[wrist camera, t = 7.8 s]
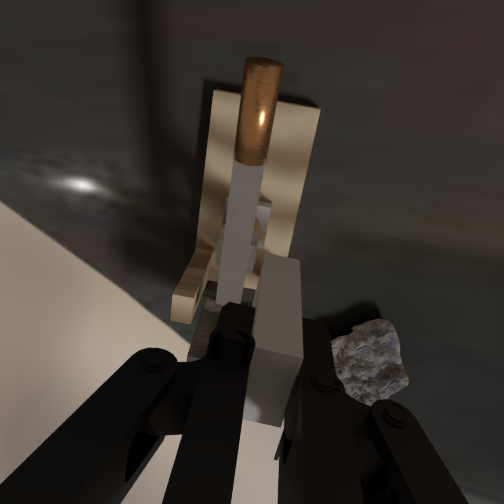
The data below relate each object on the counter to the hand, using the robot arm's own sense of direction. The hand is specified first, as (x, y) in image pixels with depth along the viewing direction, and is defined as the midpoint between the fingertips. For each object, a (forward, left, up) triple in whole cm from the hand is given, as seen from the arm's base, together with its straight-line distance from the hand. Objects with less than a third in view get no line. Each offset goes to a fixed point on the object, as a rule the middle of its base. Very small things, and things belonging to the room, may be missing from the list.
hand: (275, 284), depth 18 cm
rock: (+25, +15, -31) cm, 42 cm away
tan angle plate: (+6, -3, -30) cm, 31 cm away
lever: (+7, -3, -22) cm, 23 cm away
